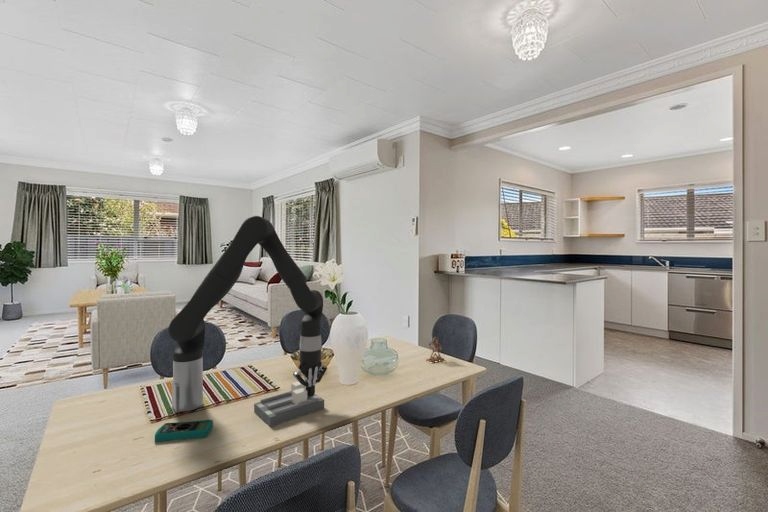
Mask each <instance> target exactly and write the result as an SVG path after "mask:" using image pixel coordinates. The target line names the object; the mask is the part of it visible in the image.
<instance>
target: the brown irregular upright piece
mask: <svg viewBox="0 0 768 512" xmlns="http://www.w3.org/2000/svg"><path fill="white" fill-rule="evenodd" d="M439 341H440V339H439V337H436V336H434V337H433V338H432V340H431V341H429V342H428V346H429V348H431V349H432V352H431V355H430V357H429V358H427V359H425V360H426V361H425V362H427V361H429V362H435V361H439V360H444V361H445V358H444V357H442V356H441V354H440V351H441V350H442V349H443V345H442V344H441V343H439ZM438 345H439V346H438ZM432 346H433V347H432ZM436 352H437V353H436ZM437 354H438V355H437ZM429 362H428V363H429ZM435 363H436V362H435Z"/></svg>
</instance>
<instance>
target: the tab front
mask: <svg viewBox="0 0 768 512" xmlns="http://www.w3.org/2000/svg"><path fill="white" fill-rule="evenodd" d="M305 401H307V390H305V389H304V388H301V389H297V390H294V391H292V402H293V403H294V404H295V405H296V404H299V403H302V402H305Z"/></svg>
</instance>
